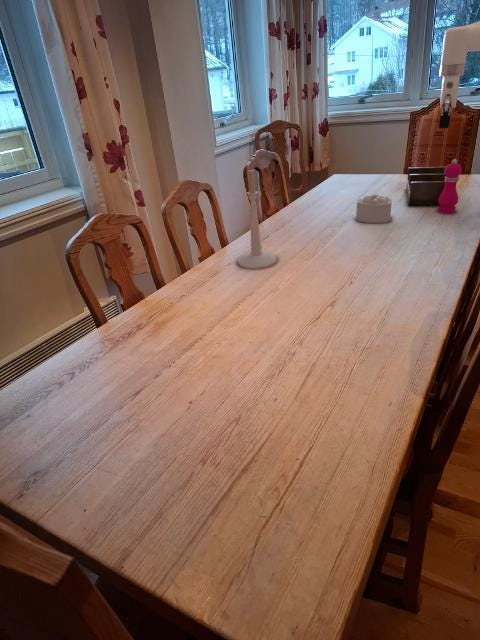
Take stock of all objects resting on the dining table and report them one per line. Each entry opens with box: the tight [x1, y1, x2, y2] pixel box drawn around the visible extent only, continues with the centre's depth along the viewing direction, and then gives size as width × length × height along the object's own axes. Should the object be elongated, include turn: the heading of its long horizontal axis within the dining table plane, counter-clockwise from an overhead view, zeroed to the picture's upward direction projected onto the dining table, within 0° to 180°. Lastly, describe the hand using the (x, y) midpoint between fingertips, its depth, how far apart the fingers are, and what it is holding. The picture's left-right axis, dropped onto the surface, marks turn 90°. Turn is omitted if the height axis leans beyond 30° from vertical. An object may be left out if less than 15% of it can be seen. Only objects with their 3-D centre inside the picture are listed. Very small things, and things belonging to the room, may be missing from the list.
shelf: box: [405, 166, 446, 207], centre depth 188 cm, size 16×28×10 cm, turn 163°
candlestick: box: [237, 169, 277, 270], centre depth 137 cm, size 13×13×30 cm
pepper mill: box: [437, 158, 463, 215], centre depth 167 cm, size 7×7×20 cm
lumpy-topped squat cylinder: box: [355, 193, 392, 224], centre depth 169 cm, size 10×13×9 cm
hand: (444, 126), depth 153 cm, fingers open, 9 cm apart
